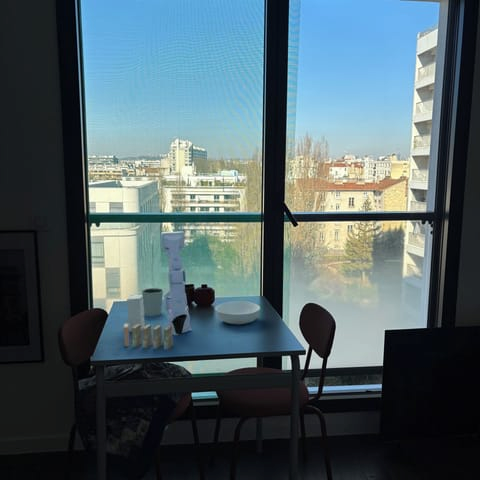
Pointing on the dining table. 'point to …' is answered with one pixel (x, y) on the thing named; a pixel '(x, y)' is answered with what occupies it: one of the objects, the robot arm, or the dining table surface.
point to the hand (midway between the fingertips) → (179, 333)
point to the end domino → (126, 334)
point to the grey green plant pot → (152, 301)
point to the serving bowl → (237, 312)
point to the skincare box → (135, 311)
